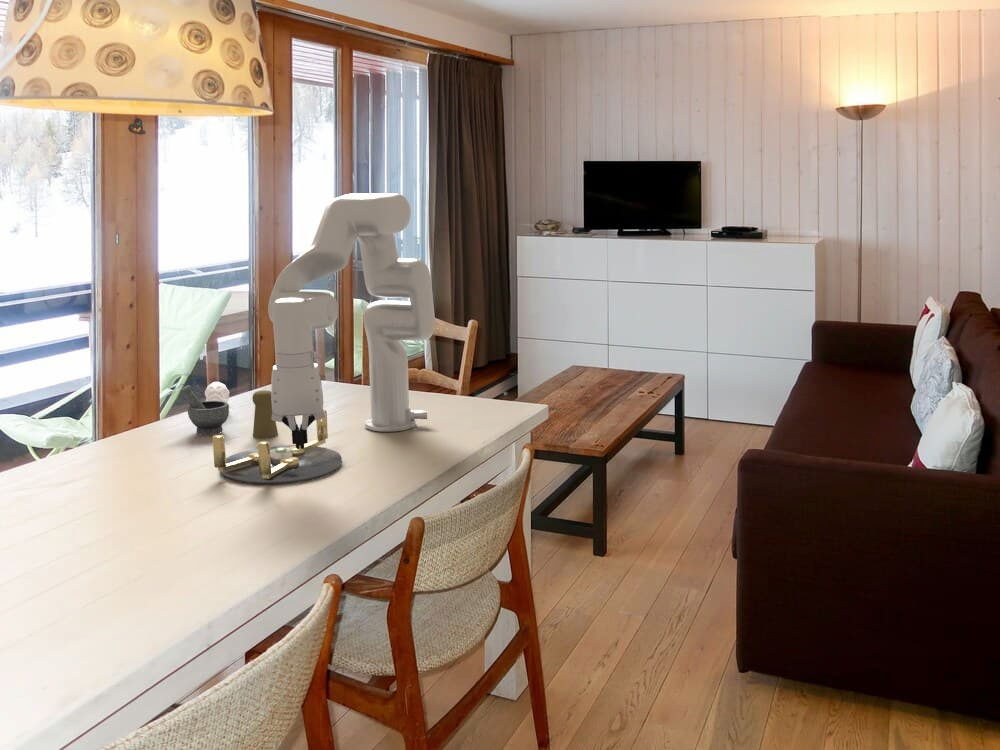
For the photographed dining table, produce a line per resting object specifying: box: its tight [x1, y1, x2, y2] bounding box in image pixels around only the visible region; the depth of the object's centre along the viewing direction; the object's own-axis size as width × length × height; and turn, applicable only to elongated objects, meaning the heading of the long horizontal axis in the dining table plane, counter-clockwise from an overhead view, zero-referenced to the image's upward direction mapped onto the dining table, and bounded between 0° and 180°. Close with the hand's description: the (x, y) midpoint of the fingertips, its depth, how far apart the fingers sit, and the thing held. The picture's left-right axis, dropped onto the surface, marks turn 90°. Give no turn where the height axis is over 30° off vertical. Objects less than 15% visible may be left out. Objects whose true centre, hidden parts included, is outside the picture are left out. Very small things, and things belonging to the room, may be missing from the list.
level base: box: [219, 444, 343, 486], centre depth 222 cm, size 26×26×4 cm
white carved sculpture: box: [204, 381, 230, 403], centre depth 266 cm, size 6×8×12 cm
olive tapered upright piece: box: [251, 389, 279, 439], centre depth 247 cm, size 6×6×11 cm
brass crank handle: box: [257, 441, 299, 479], centre depth 213 cm, size 13×4×8 cm, turn 162°
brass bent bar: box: [289, 409, 329, 457], centre depth 230 cm, size 13×4×8 cm, turn 153°
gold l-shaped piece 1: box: [212, 434, 259, 472], centre depth 217 cm, size 13×4×8 cm, turn 143°
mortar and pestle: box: [179, 384, 230, 436], centre depth 250 cm, size 11×9×12 cm
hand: (300, 446), depth 209 cm, fingers closed
